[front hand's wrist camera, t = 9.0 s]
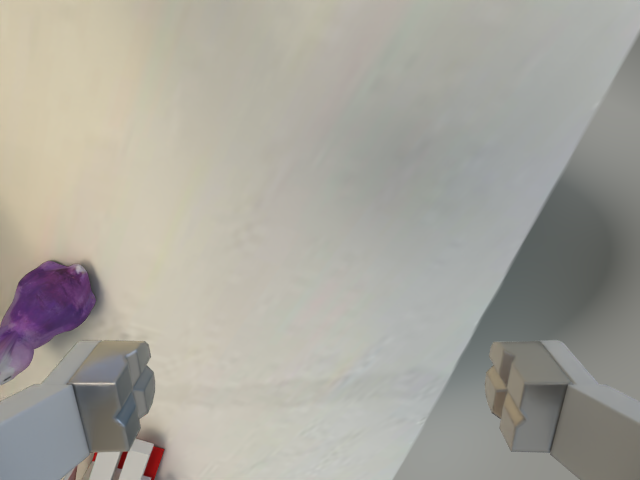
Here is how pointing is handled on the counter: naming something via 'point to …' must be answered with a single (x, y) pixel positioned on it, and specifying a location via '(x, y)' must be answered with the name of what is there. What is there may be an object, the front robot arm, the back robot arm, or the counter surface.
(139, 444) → the toy
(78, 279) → the figurine
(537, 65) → the counter surface
